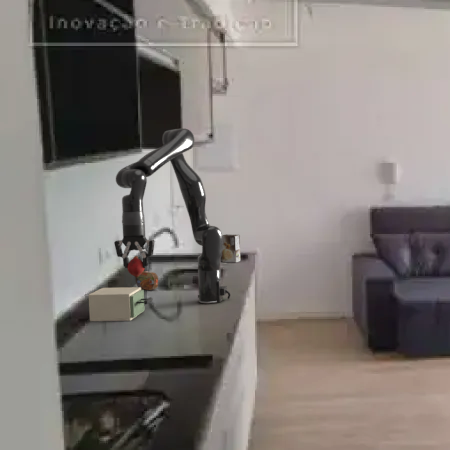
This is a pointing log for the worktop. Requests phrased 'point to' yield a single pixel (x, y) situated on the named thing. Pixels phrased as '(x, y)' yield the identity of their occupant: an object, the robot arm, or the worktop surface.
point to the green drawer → (138, 303)
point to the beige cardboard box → (111, 304)
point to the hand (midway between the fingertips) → (135, 267)
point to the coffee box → (230, 248)
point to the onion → (135, 266)
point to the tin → (147, 280)
